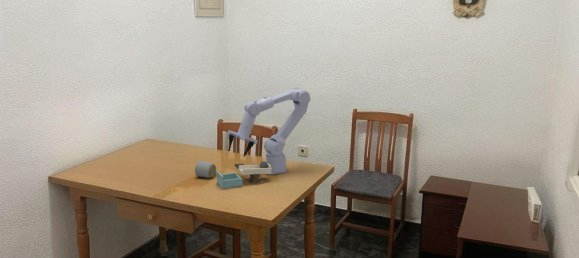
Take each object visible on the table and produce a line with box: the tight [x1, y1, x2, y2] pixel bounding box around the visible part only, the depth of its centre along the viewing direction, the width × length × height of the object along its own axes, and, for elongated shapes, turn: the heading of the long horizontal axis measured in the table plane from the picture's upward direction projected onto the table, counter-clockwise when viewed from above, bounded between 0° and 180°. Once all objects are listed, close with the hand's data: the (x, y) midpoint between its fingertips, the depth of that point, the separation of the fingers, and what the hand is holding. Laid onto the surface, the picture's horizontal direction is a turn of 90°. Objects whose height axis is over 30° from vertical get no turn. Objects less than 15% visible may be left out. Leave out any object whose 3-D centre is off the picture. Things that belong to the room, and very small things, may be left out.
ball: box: [258, 160, 268, 168], centre depth 233 cm, size 4×4×4 cm
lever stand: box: [245, 174, 265, 185], centre depth 233 cm, size 6×8×4 cm
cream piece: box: [234, 163, 272, 176], centre depth 235 cm, size 14×14×4 cm
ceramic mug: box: [194, 160, 217, 179], centre depth 239 cm, size 11×8×8 cm
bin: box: [215, 170, 244, 190], centre depth 227 cm, size 10×9×6 cm
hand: (236, 153), depth 235 cm, fingers open, 7 cm apart
